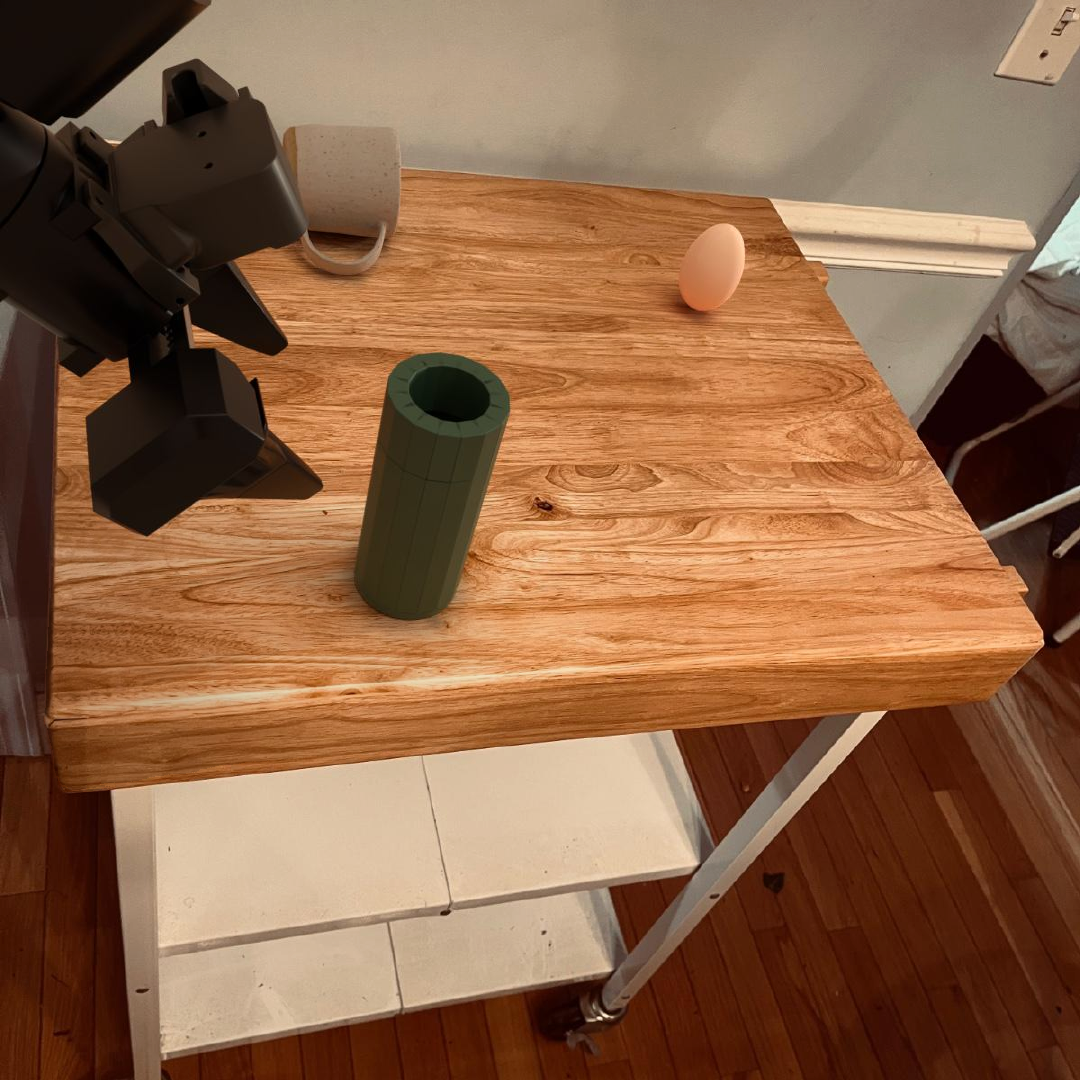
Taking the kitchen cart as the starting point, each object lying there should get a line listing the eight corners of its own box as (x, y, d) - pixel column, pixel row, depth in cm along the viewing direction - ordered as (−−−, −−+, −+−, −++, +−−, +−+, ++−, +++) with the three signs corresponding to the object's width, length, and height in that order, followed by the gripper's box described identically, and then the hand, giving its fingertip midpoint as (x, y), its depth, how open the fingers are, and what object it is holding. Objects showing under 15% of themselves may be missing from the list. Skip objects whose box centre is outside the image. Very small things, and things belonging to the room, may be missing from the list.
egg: (734, 322, 85) (771, 242, 79) (687, 328, 83) (721, 247, 77) (704, 285, 87) (737, 206, 82) (657, 290, 85) (688, 209, 80)
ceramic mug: (276, 189, 81) (282, 95, 76) (383, 199, 84) (397, 108, 78) (285, 277, 75) (292, 181, 69) (400, 285, 78) (417, 193, 72)
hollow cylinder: (350, 614, 58) (384, 426, 47) (357, 533, 61) (390, 343, 51) (456, 625, 59) (512, 444, 49) (457, 545, 63) (508, 362, 52)
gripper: (195, 209, 29) (499, 471, 41) (139, -86, 39) (392, 190, 51) (-85, 434, 31) (277, 616, 43) (-65, 101, 42) (220, 321, 54)
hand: (297, 416), depth 48 cm, fingers open, 9 cm apart
